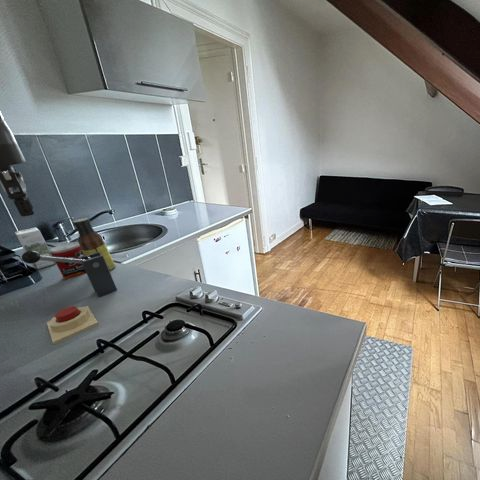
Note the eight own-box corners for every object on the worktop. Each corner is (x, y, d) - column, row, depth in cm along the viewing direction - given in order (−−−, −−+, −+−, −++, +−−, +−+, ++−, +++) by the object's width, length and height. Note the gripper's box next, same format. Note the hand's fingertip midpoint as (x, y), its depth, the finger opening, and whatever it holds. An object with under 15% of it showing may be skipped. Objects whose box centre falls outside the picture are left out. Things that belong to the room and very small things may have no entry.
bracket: (88, 310, 71) (67, 269, 66) (81, 298, 77) (62, 260, 72) (133, 291, 79) (118, 253, 74) (124, 282, 84) (110, 246, 79)
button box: (50, 329, 65) (43, 316, 63) (90, 312, 70) (84, 299, 69) (57, 349, 58) (48, 335, 56) (101, 329, 63) (94, 316, 62)
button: (56, 318, 62) (53, 312, 62) (78, 310, 65) (75, 304, 65) (59, 325, 60) (56, 319, 59) (81, 316, 63) (78, 310, 62)
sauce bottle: (115, 267, 95) (94, 215, 87) (118, 272, 91) (96, 218, 83) (93, 274, 91) (68, 220, 83) (95, 280, 87) (69, 223, 79)
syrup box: (53, 260, 104) (35, 226, 98) (56, 264, 100) (39, 229, 95) (33, 266, 99) (13, 231, 94) (36, 270, 96) (16, 234, 91)
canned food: (63, 283, 86) (48, 253, 81) (64, 275, 91) (50, 246, 87) (93, 274, 90) (80, 246, 86) (92, 267, 96) (79, 239, 92)
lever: (20, 264, 62) (23, 251, 62) (19, 260, 64) (23, 248, 64) (99, 269, 74) (102, 258, 74) (96, 266, 76) (99, 256, 76)
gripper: (-30, 144, 60) (6, 212, 67) (-40, 143, 51) (4, 222, 57) (17, 142, 65) (47, 205, 71) (16, 141, 56) (50, 213, 62)
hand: (27, 212), depth 64 cm, fingers open, 8 cm apart
